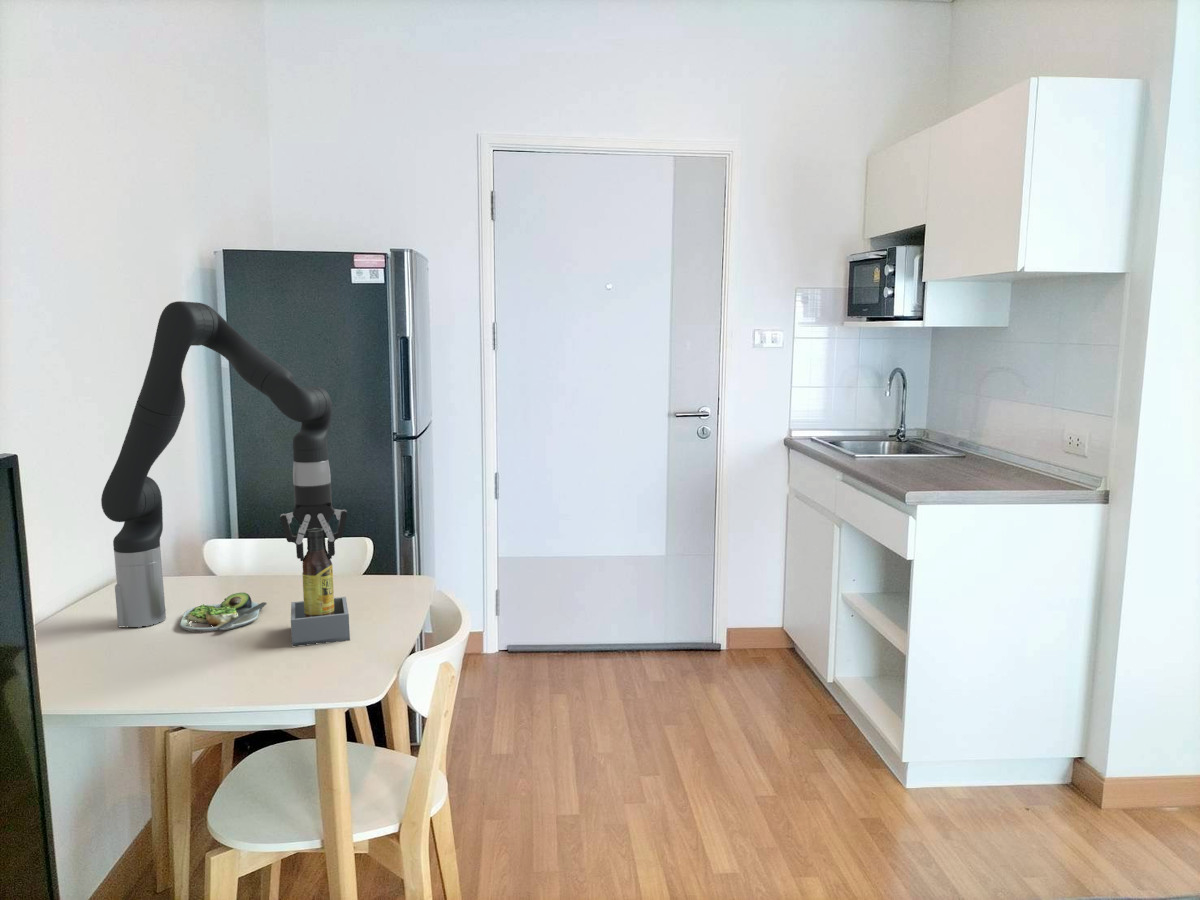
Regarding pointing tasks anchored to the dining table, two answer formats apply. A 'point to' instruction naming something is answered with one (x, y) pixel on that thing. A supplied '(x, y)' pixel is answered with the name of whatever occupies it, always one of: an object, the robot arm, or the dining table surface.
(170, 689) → the dining table surface
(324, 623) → the bottle caddy
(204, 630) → the salad plate
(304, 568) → the sauce bottle
